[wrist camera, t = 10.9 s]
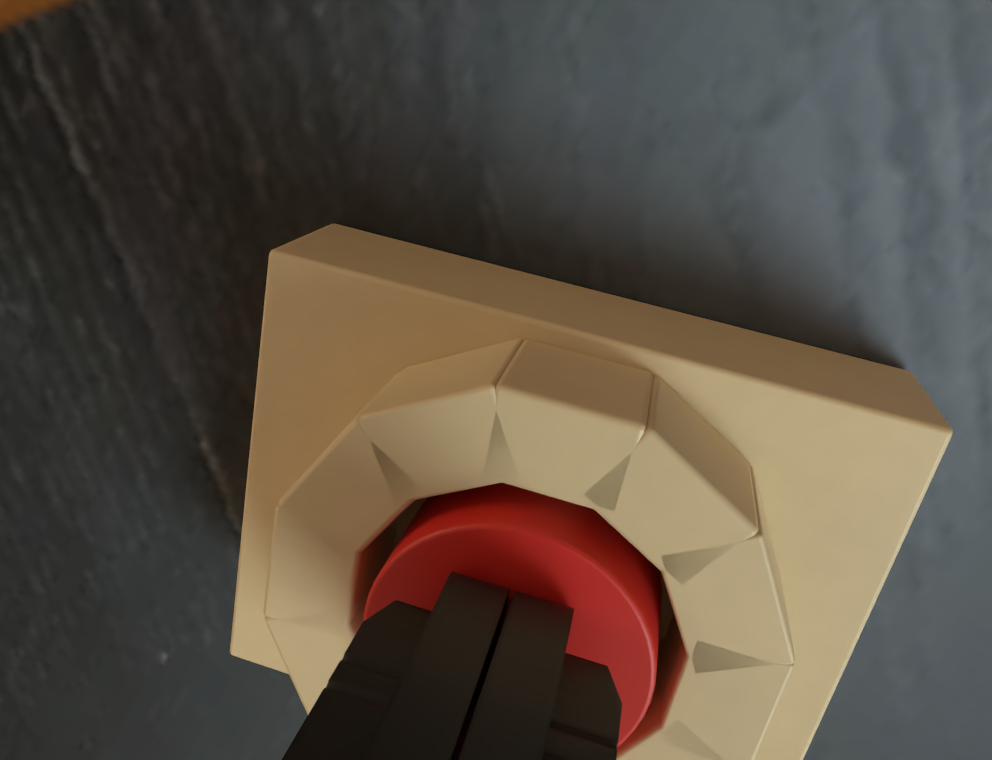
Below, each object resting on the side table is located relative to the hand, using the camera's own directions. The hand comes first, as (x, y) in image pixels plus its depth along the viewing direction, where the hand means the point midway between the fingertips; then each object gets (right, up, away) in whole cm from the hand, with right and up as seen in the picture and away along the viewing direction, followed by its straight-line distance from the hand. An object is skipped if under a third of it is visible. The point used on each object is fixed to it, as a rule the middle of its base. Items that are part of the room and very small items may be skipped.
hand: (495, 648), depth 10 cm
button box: (+1, +1, +4) cm, 4 cm away
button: (+1, 0, +2) cm, 2 cm away
